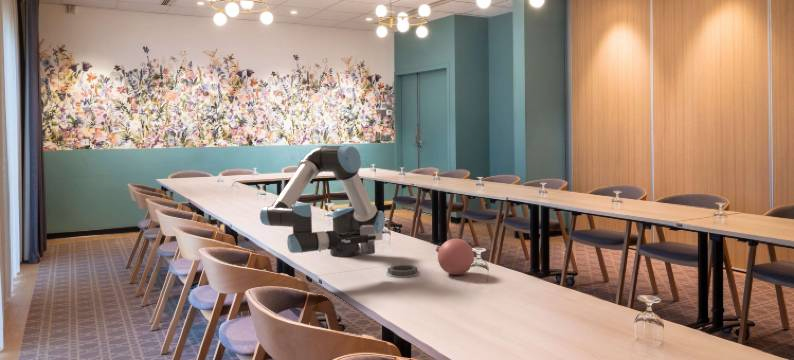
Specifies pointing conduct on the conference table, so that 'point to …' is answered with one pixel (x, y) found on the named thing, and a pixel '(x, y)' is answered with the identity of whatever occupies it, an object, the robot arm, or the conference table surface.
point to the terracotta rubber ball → (455, 256)
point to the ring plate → (402, 271)
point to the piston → (370, 246)
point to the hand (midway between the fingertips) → (378, 235)
